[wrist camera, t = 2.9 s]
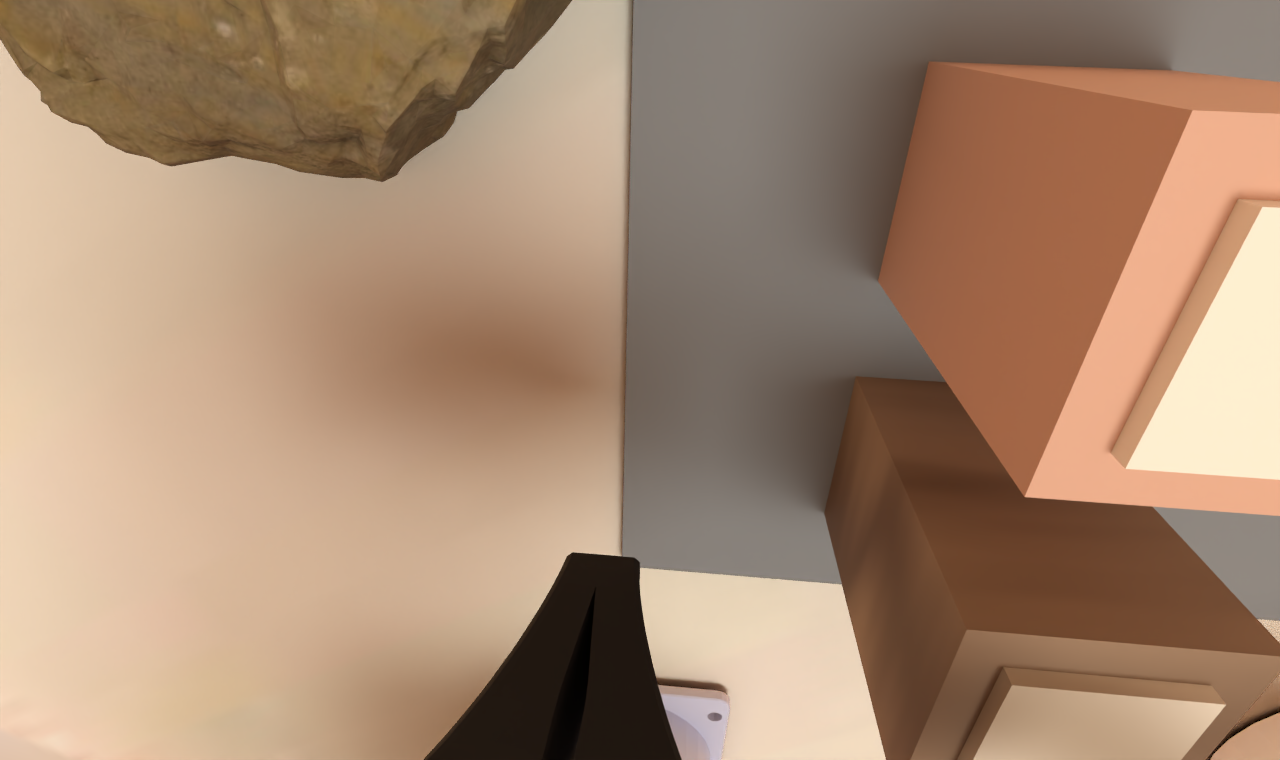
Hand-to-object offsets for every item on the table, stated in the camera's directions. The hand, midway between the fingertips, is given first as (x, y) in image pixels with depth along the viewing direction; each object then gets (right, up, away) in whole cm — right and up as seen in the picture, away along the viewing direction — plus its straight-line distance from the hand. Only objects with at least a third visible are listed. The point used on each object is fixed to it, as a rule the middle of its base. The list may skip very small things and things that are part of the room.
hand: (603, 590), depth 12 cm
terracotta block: (+8, +8, +1) cm, 12 cm away
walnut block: (+8, +2, +4) cm, 10 cm away
